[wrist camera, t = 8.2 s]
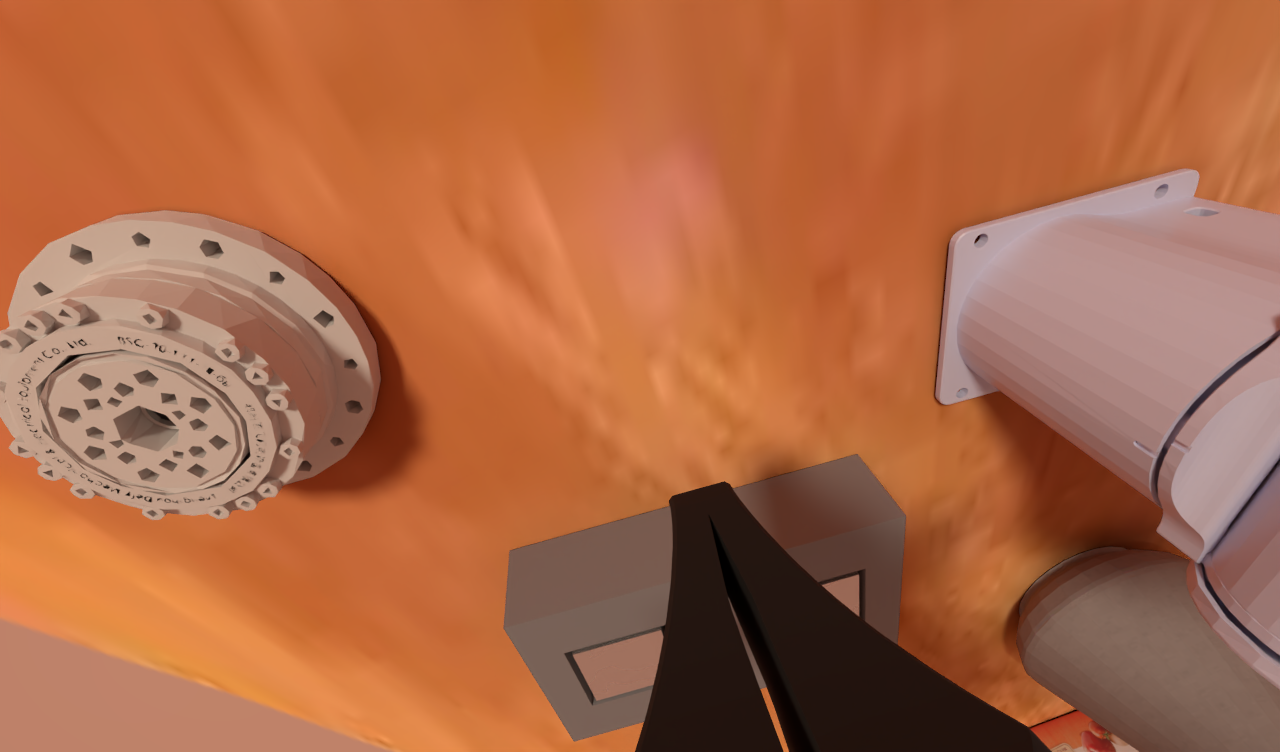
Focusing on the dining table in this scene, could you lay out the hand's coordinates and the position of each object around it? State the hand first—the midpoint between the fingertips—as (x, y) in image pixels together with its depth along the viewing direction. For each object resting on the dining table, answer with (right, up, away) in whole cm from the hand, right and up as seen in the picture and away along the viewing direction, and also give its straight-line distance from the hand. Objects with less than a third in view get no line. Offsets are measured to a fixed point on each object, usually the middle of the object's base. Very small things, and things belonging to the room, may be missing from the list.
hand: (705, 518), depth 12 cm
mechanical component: (-16, +4, +6) cm, 18 cm away
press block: (+2, -7, +15) cm, 17 cm away
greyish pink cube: (-3, -8, +15) cm, 17 cm away
